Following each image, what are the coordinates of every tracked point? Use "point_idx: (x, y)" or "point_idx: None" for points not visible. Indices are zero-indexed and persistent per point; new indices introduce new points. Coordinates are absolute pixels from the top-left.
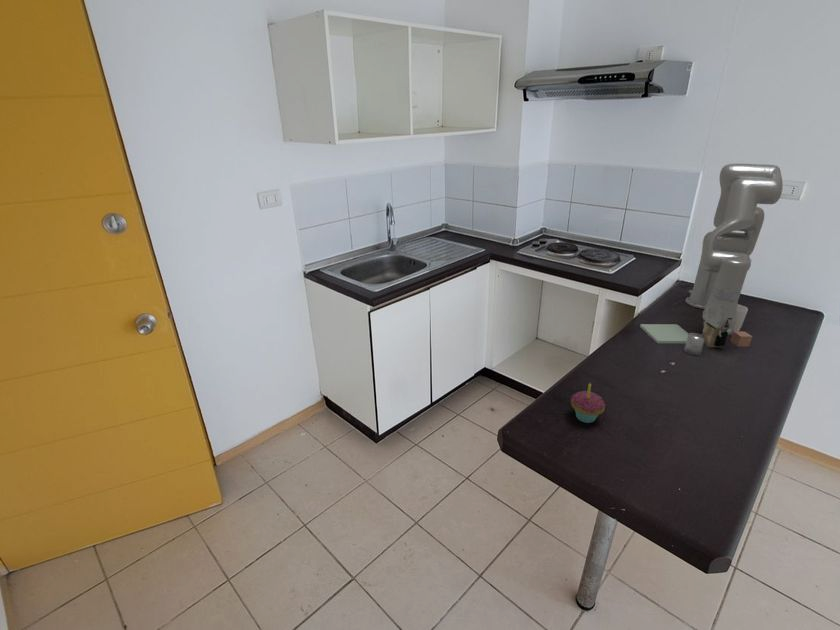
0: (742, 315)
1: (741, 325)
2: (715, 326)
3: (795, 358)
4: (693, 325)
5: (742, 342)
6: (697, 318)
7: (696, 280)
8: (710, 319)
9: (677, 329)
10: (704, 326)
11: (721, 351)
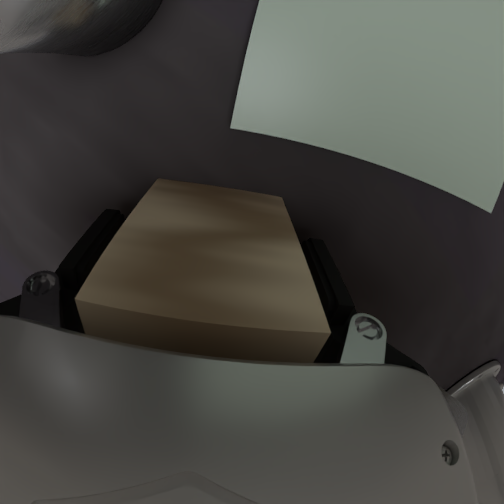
0: None
1: None
2: (6, 330)
3: None
4: (439, 303)
5: None
6: (450, 348)
7: None
8: (181, 452)
9: (459, 146)
10: (310, 289)
11: (90, 225)
